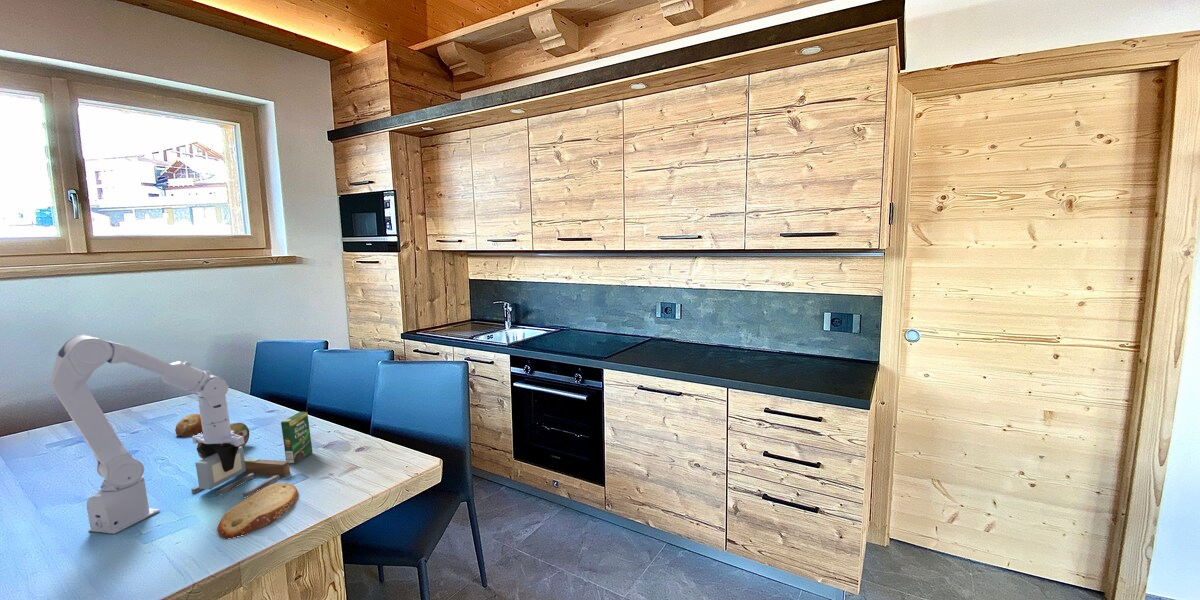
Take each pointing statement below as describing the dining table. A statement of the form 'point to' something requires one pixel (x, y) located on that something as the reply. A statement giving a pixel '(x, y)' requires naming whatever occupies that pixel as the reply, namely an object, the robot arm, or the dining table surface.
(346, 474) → the dining table surface
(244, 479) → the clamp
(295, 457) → the coffee box
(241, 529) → the bread slice
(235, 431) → the tin
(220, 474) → the grey rectangular block
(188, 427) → the bread roll
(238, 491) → the dining table surface
